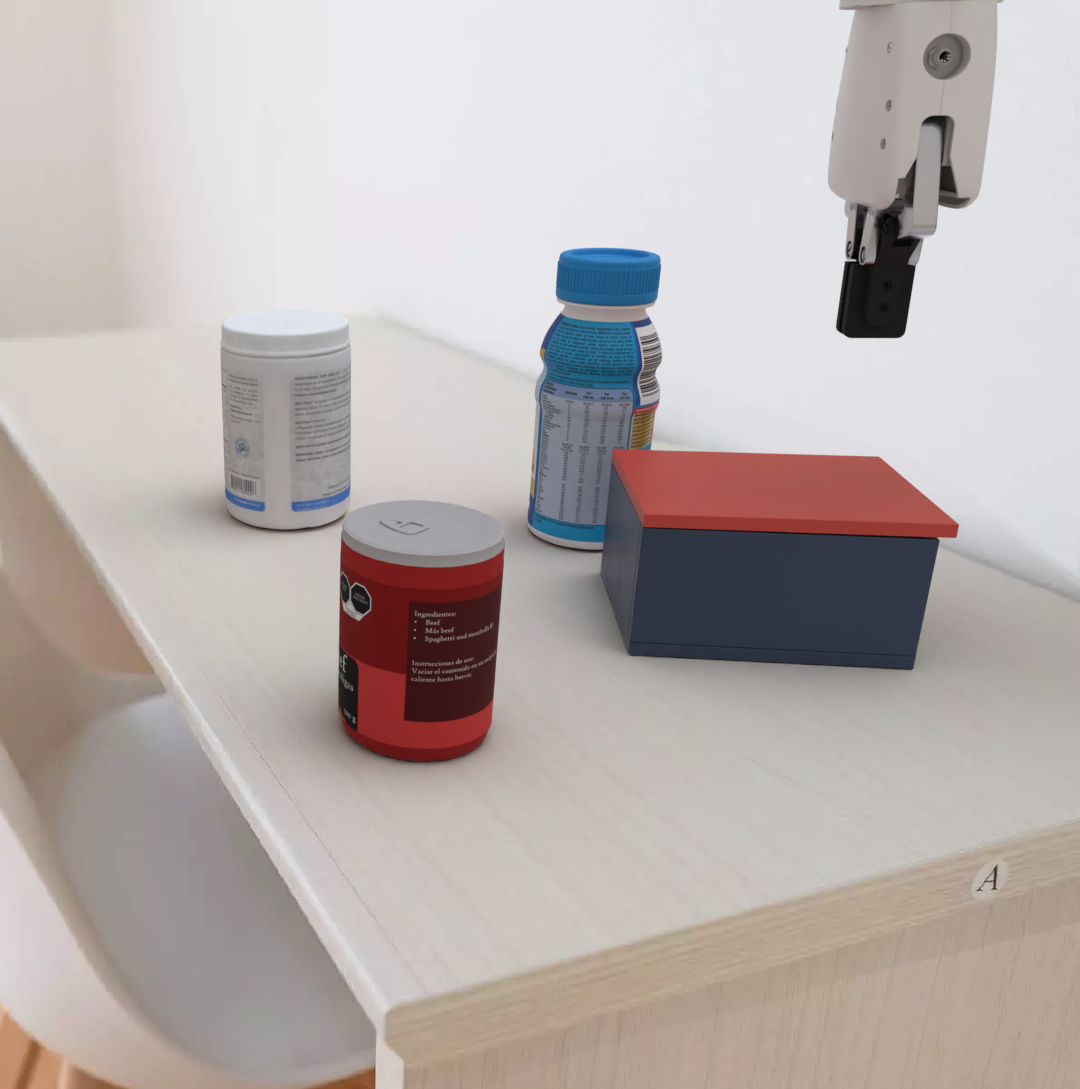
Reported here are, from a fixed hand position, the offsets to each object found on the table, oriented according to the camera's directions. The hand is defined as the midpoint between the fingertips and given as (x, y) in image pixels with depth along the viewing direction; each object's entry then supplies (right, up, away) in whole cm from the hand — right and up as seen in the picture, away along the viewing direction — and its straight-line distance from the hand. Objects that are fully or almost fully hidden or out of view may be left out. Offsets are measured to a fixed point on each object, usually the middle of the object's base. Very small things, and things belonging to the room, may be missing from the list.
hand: (869, 334), depth 69 cm
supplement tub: (-32, -9, +25) cm, 42 cm away
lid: (-4, -9, +4) cm, 11 cm away
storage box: (-4, -16, +7) cm, 18 cm away
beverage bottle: (-11, -11, +21) cm, 26 cm away
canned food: (-26, -21, -6) cm, 34 cm away
